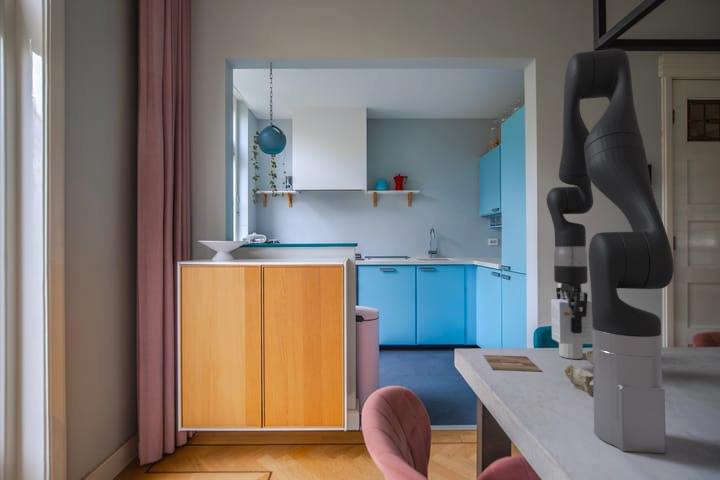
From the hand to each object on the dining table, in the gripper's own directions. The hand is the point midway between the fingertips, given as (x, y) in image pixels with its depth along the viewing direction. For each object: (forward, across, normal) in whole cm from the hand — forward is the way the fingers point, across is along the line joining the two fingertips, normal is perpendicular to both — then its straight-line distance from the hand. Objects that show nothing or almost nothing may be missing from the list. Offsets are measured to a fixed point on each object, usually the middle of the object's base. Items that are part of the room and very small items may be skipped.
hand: (571, 330), depth 100 cm
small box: (+3, 0, 0) cm, 3 cm away
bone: (+10, -16, +3) cm, 19 cm away
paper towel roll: (+10, +13, -5) cm, 17 cm away
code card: (+10, +4, +14) cm, 18 cm away
